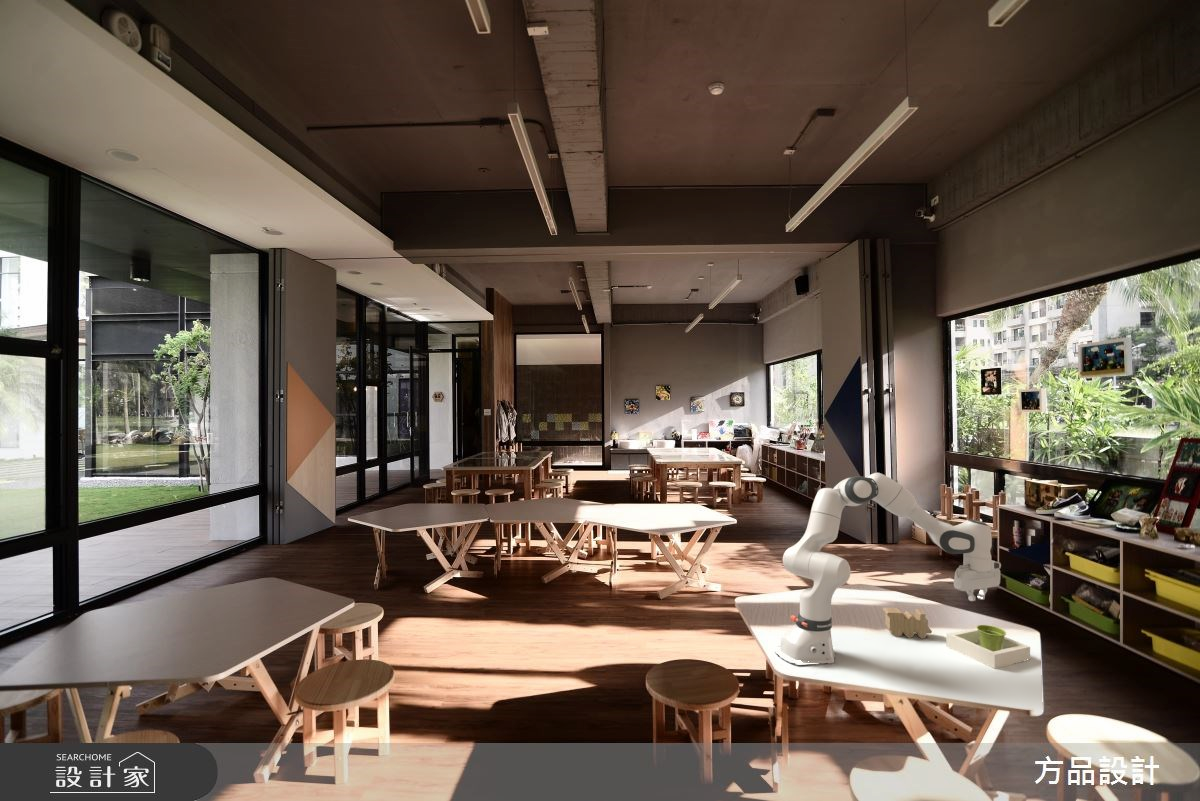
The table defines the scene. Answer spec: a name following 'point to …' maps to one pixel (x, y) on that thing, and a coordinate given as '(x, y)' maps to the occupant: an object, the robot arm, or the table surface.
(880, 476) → the robot arm
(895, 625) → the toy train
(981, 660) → the cream open tray
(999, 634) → the plant pot
